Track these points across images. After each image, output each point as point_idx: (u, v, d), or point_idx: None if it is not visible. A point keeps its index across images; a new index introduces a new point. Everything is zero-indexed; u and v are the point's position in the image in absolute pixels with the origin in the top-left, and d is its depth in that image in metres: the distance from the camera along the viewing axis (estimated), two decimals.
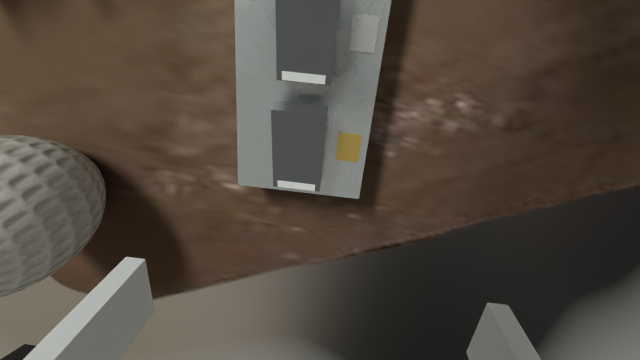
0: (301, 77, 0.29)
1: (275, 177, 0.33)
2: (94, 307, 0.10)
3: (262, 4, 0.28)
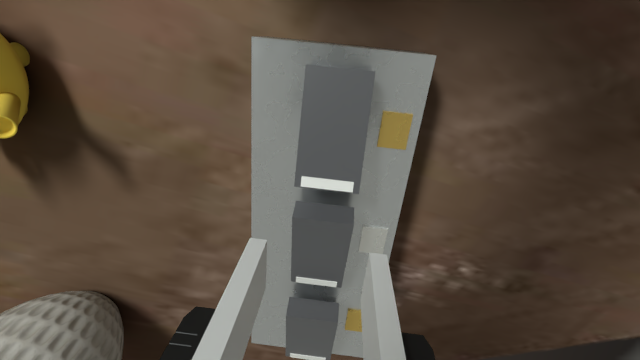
0: (314, 281, 0.31)
1: (288, 351, 0.35)
2: (246, 277, 0.12)
3: (277, 214, 0.30)
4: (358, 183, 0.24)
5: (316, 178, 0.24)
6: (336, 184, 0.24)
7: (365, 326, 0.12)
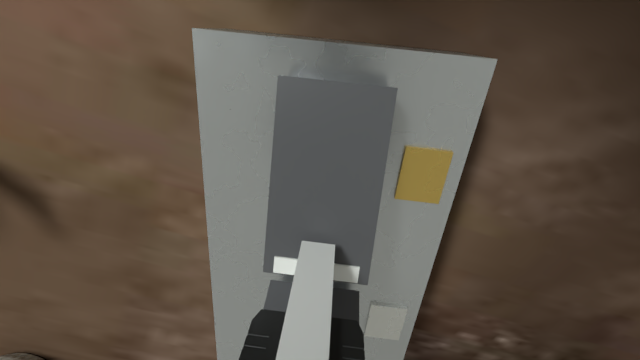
0: None
1: None
2: (307, 280, 0.12)
3: (248, 286, 0.21)
4: (367, 268, 0.15)
5: None
6: None
7: None
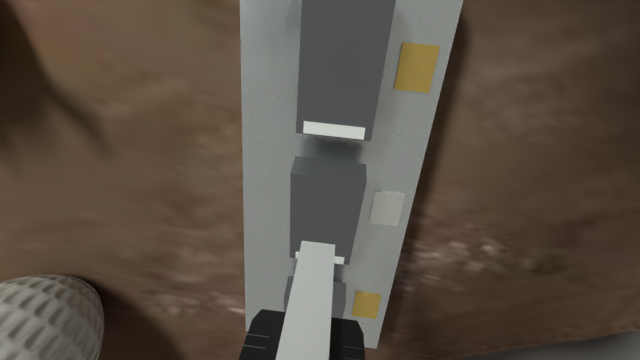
0: None
1: None
2: (307, 280, 0.12)
3: (274, 178, 0.26)
4: (370, 129, 0.20)
5: (321, 124, 0.20)
6: (344, 130, 0.21)
7: None
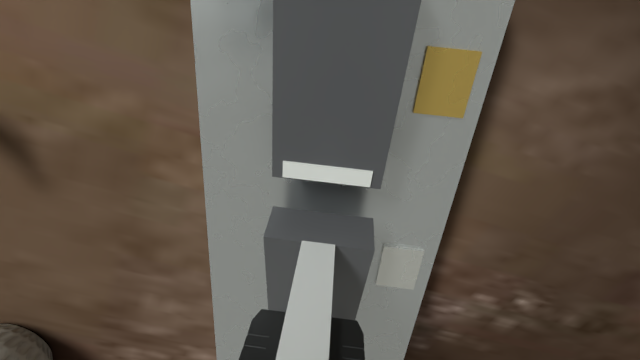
0: None
1: None
2: (307, 279, 0.12)
3: (248, 227, 0.19)
4: (380, 173, 0.14)
5: (308, 165, 0.14)
6: (342, 174, 0.14)
7: None
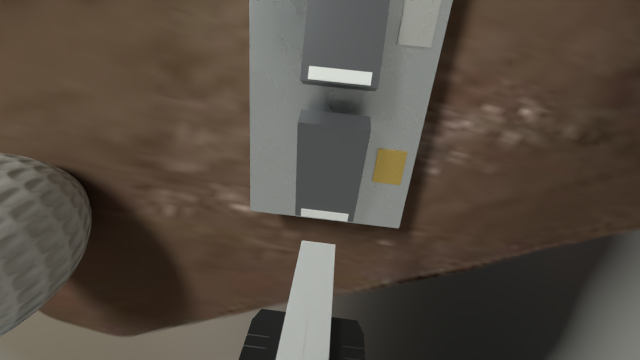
0: (337, 75, 0.20)
1: (298, 205, 0.26)
2: (308, 280, 0.12)
3: None
4: None
5: None
6: None
7: None
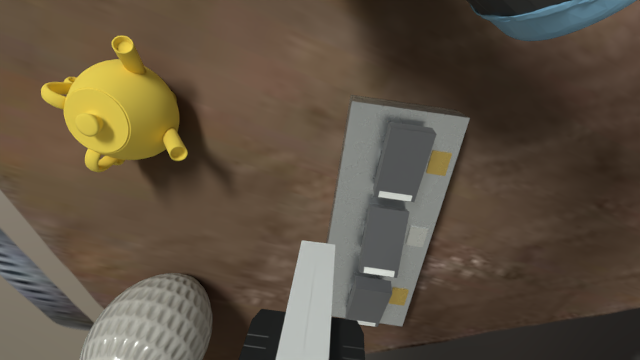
0: (377, 271, 0.41)
1: (348, 317, 0.47)
2: (308, 279, 0.12)
3: (351, 217, 0.43)
4: (414, 196, 0.38)
5: (388, 192, 0.38)
6: (400, 196, 0.38)
7: None
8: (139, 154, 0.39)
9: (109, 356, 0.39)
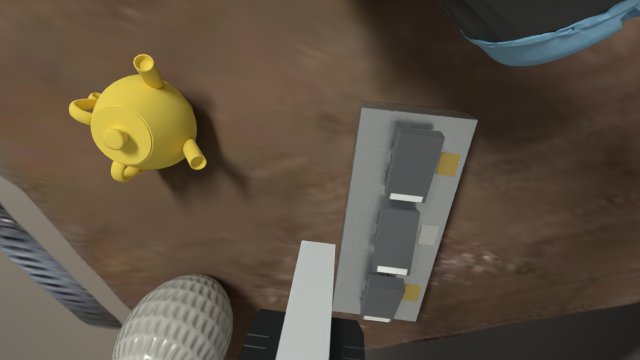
0: (390, 269, 0.43)
1: (363, 314, 0.49)
2: (307, 280, 0.12)
3: (363, 218, 0.45)
4: (425, 197, 0.40)
5: (399, 194, 0.40)
6: (411, 197, 0.40)
7: None
8: (161, 164, 0.41)
9: (140, 354, 0.41)
